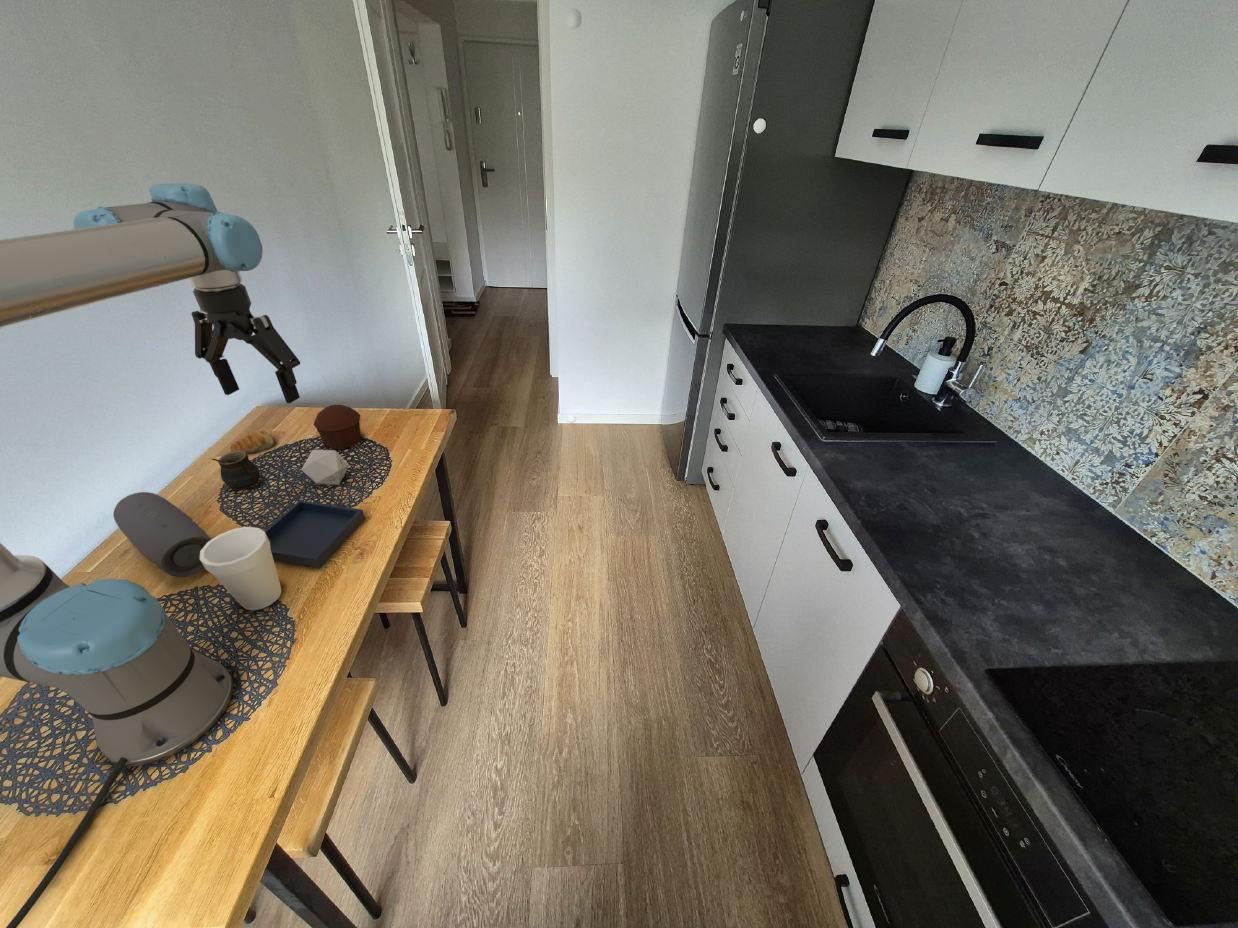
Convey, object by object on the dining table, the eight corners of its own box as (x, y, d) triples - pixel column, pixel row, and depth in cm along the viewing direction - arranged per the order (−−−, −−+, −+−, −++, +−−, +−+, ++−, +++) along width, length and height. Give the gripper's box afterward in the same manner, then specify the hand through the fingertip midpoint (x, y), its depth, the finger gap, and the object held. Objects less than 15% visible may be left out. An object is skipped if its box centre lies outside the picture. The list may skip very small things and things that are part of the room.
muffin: (315, 438, 136) (303, 406, 130) (357, 426, 142) (347, 394, 136) (329, 457, 129) (318, 424, 123) (373, 443, 135) (363, 410, 129)
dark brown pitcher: (271, 478, 120) (255, 443, 115) (246, 496, 114) (228, 461, 108) (244, 474, 121) (228, 439, 116) (219, 492, 115) (200, 457, 109)
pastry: (237, 459, 126) (231, 447, 124) (228, 450, 130) (222, 437, 127) (277, 445, 132) (272, 433, 130) (267, 436, 136) (262, 424, 133)
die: (324, 499, 116) (343, 464, 114) (288, 479, 114) (307, 443, 112) (342, 488, 124) (360, 456, 122) (309, 470, 123) (327, 436, 121)
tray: (319, 568, 97) (315, 559, 96) (250, 556, 99) (244, 547, 98) (365, 518, 110) (362, 509, 108) (303, 508, 112) (299, 499, 110)
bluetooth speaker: (230, 562, 98) (208, 524, 92) (174, 592, 91) (147, 553, 85) (179, 517, 107) (156, 481, 102) (126, 542, 101) (98, 504, 95)
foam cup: (301, 591, 92) (276, 540, 85) (248, 625, 86) (217, 574, 78) (273, 570, 96) (247, 520, 89) (221, 601, 90) (188, 549, 82)
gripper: (298, 286, 87) (332, 395, 99) (176, 274, 90) (223, 381, 102) (265, 298, 81) (305, 412, 93) (135, 284, 84) (190, 396, 96)
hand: (262, 396), depth 98 cm, fingers open, 13 cm apart
